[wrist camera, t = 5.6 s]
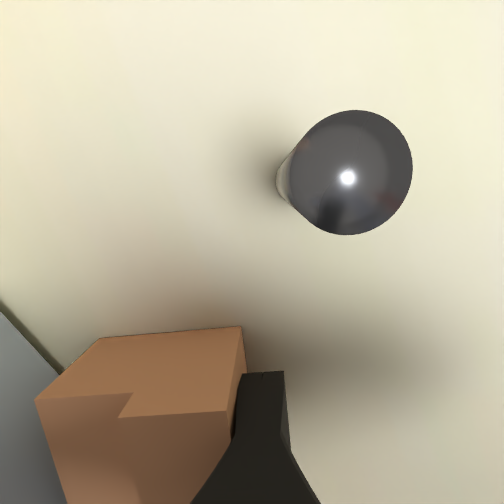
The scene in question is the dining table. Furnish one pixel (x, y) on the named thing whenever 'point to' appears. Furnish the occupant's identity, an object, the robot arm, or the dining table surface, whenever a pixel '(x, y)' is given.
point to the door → (24, 424)
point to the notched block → (144, 415)
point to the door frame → (347, 172)
